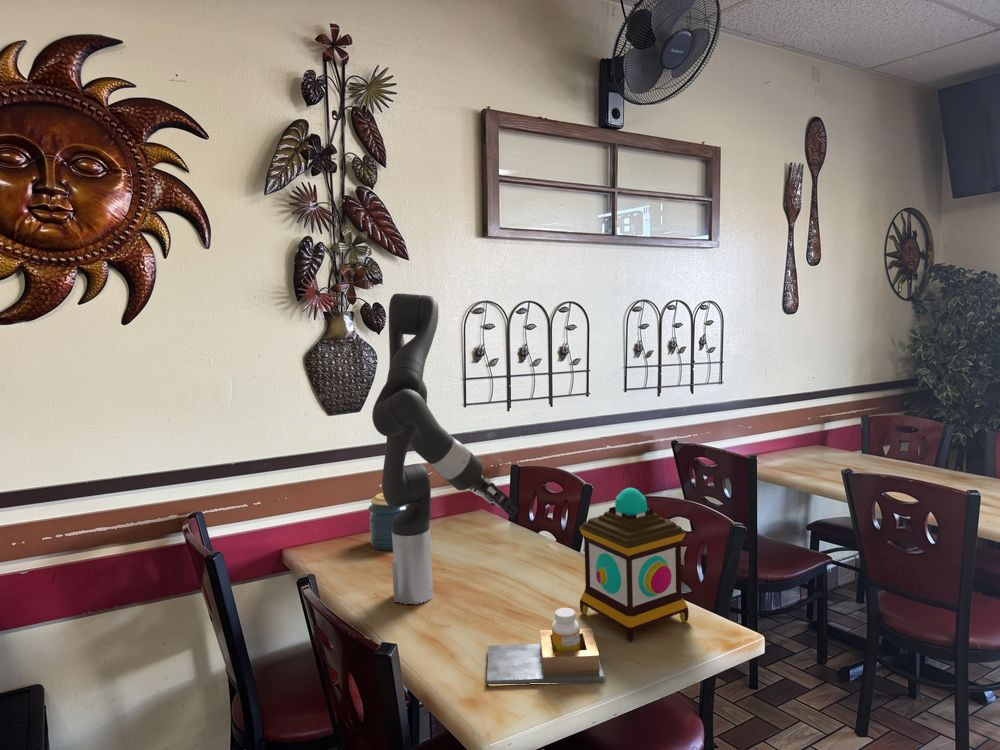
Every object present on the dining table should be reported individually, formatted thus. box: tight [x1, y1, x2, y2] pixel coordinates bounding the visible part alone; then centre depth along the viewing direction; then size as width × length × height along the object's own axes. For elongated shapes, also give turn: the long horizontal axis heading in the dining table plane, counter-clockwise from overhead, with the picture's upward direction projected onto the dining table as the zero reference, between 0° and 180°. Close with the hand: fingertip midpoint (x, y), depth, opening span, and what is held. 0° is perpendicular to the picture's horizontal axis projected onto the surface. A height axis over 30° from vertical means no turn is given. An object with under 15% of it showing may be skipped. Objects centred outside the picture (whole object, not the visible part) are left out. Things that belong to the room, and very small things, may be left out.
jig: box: [486, 628, 605, 685], centre depth 131 cm, size 22×13×5 cm, turn 90°
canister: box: [368, 492, 409, 552], centre depth 203 cm, size 13×13×18 cm
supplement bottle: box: [551, 607, 581, 652], centre depth 130 cm, size 5×5×10 cm
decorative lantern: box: [578, 487, 689, 643], centre depth 148 cm, size 20×20×30 cm
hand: (505, 507), depth 142 cm, fingers open, 8 cm apart
